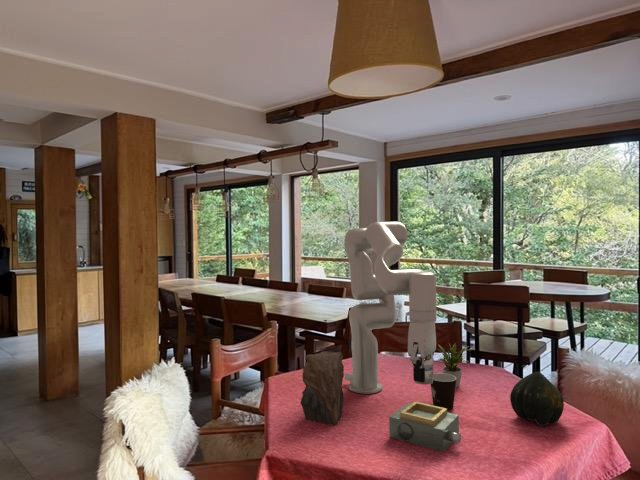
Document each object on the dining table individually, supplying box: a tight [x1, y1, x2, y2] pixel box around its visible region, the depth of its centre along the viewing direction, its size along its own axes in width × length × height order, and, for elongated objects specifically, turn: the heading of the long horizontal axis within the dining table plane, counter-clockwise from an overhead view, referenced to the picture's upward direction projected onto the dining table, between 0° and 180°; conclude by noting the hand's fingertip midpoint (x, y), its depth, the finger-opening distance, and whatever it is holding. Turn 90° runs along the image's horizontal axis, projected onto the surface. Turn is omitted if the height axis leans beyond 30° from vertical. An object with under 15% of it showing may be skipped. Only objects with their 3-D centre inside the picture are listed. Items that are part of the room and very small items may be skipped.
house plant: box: [436, 342, 472, 389], centre depth 172 cm, size 14×14×16 cm
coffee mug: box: [430, 372, 456, 412], centre depth 154 cm, size 12×9×10 cm
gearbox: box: [388, 401, 462, 453], centre depth 131 cm, size 19×13×8 cm, turn 54°
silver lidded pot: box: [414, 355, 434, 386], centre depth 131 cm, size 5×5×8 cm
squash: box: [509, 370, 565, 427], centre depth 142 cm, size 14×15×15 cm
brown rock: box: [300, 350, 345, 426], centre depth 148 cm, size 13×13×20 cm
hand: (423, 378), depth 131 cm, fingers closed on silver lidded pot, 5 cm apart
